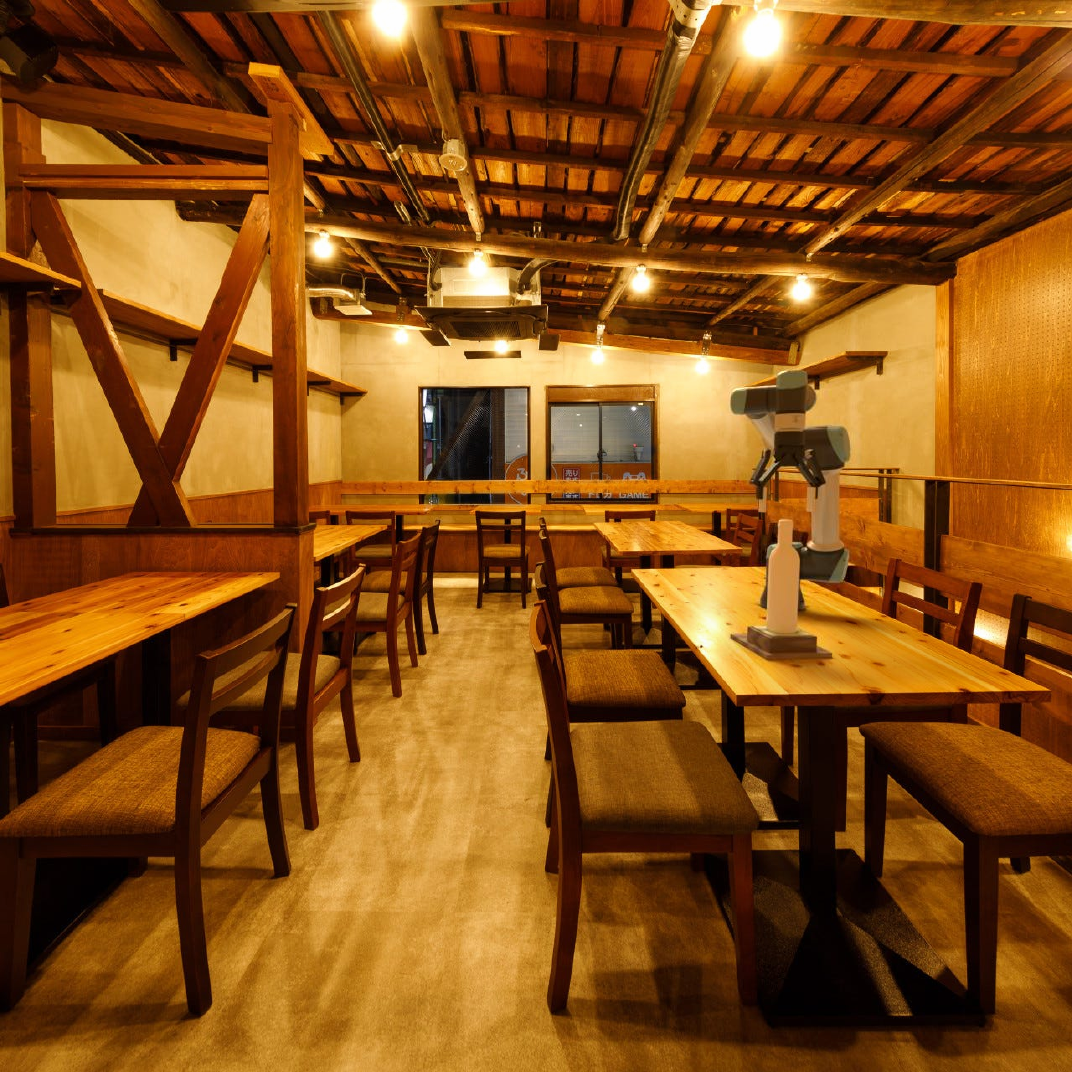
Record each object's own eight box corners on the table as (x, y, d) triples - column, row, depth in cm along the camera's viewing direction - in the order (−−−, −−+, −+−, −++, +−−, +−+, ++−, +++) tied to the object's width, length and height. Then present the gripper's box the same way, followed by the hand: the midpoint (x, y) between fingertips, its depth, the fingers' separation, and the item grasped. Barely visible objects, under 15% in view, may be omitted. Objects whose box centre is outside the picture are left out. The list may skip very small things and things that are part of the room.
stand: (730, 637, 184) (730, 619, 184) (788, 636, 186) (789, 617, 186) (766, 659, 163) (767, 638, 162) (832, 657, 165) (833, 636, 164)
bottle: (782, 635, 166) (787, 521, 163) (759, 628, 173) (763, 519, 170) (803, 631, 169) (808, 520, 166) (780, 625, 176) (784, 518, 173)
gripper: (751, 429, 161) (748, 512, 163) (842, 430, 164) (838, 512, 166) (738, 431, 168) (735, 511, 170) (825, 432, 171) (822, 510, 173)
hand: (786, 511), depth 168 cm, fingers open, 13 cm apart
